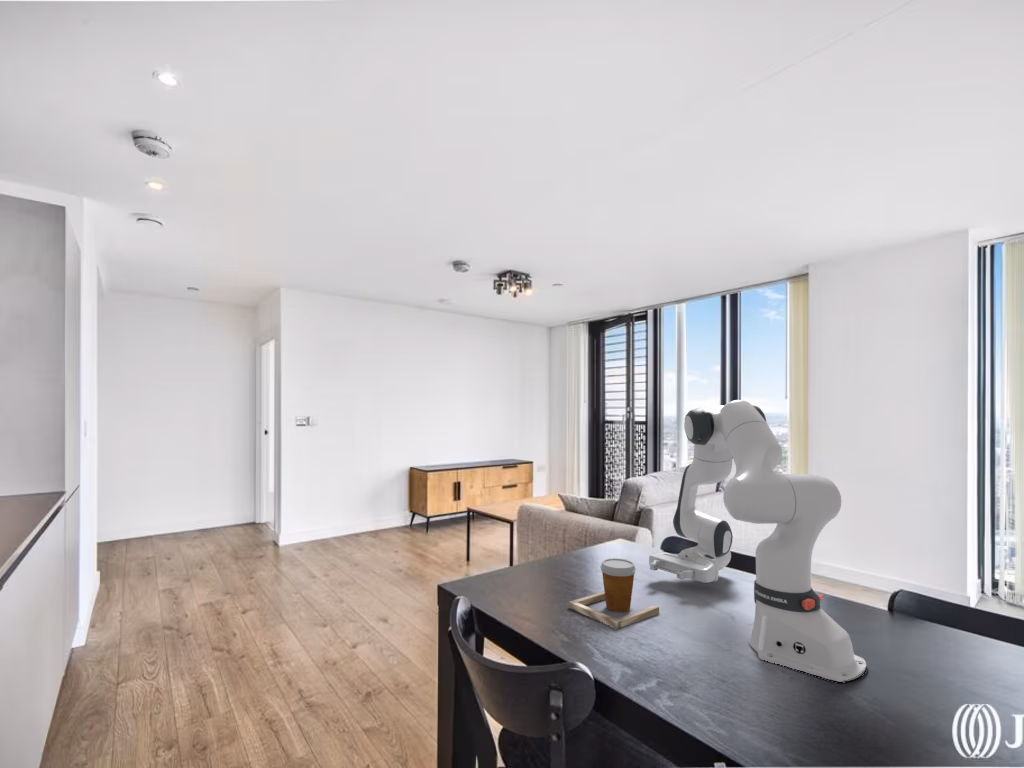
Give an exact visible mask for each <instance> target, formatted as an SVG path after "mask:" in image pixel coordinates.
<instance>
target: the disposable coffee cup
mask: <svg viewBox="0 0 1024 768" xmlns="http://www.w3.org/2000/svg"><path fill="white" fill-rule="evenodd" d="M600 570H601V573H602V574H601V575H602V581H603V583H602V584H603V589H604V592H605V599H604V600H605V607H607V608H606V609H607V610H608V609H609V610H608V611H610V610H611V611H610V612H613V613H626V612H629V611H630V610H631V603H632V595H633V594H632V593H633V589H634V588H633V587H634V579H635V574H636V571H637V568H636V566H635V563H634V562H633V561H631V560H628V559H624V558H615V557H614V558H607V559H603V560H602V562H601V565H600Z"/></svg>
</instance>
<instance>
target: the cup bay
mask: <svg viewBox="0 0 1024 768" xmlns="http://www.w3.org/2000/svg"><path fill="white" fill-rule="evenodd" d="M603 599H604V600H605V592H604V591H600V592H596V593H593V594H591V595H587V596H582V597H580V598H578V599H577V598H576V599H573V600H570V601H568V609H571V610H573V611H575V612H578V613H580V614H582V615H584V616H587V617H588V616H589V617H588V618H591V619H593V620H595V621H597V620H598V621H597V622H599V621H600V623H602V622H603V623H602V624H604V623H605V624H604V625H606V624H608V625H610V626H609V627H611V626H612V627H611V628H613V627H614V628H613V629H615V628H616V629H615V630H618V628H619V629H621V628H623V627H626V625H627V626H629V625H632V624H634V623H637V622H640V621H642V620H645V618H646V619H649V618H650V617H653V616H656V615H659V614H660V607H659V606H657V605H652V606H649V607H647V608H644V609H641V610H637V611H635V612H632V613H630V614H627V615H624V616H621V617H618V618H615V617H613V616H611V615H608V614H606V613H603V612H601V611H598V610H595V609H593V608H591V607H589V605H591V603H592V604H594V602H595V603H598V602H601V601H604V600H603ZM600 600H601V601H600ZM597 601H598V602H597ZM608 625H607V626H608Z"/></svg>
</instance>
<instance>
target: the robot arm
mask: <svg viewBox="0 0 1024 768" xmlns="http://www.w3.org/2000/svg"><path fill="white" fill-rule="evenodd" d="M683 427H684V428H683V429H684V432H685V436H686V437H687V439H688V441H690V443H692V444H694V445H693V459H692V462H691V463H689V464H688V465H686V467H685V469H684V471H683V473H682V474H683V475H682V478H681V483H680V489H679V494H678V499H677V506H676V510H675V512H674V516H673V519H672V524H673V525H672V526H673V529H674V531H675V533H676V534H677V535H678V536H679V537H682V538H685V539H688V540H691V541H693V542H696V543H697V545H696V546H693V547H688V548H685V549H682V550H681V551H680V552H679V553H678V555H677V554H674V553H670V552H665V551H663V552H662V551H661V552H656V553H651V554H649V555H648V565H649V569H650V570H651V571H658V570H661V571H664V572H668V573H670V574H673V575H676V578H677V579H681V580H684V579H690V580H693V581H695V582H696V581H697V582H700V583H702V584H703V583H706V584H708V583H712V582H717V581H719V573H720V572H719V571H720V570H723V569H724V568H725V567H726V566H728V565H729V563H730V562H731V558H732V551H731V548H732V544H733V533H732V529H731V526H730V524H729V523H728V521H726V520H724V519H721V518H719V517H716V516H714V515H711V514H709V513H706V512H703V511H701V510H699V509H698V508H697V507H696V500H697V494H698V489H699V486H702V485H703V486H704V485H706V486H707V485H714V484H718V483H720V482H722V481H725V480H726V479H727V478H728V477H729V476H730V474H731V472H732V470H733V462H734V464H735V474H734V475H733V477H732V478H730V479H729V481H728V482H726V485H725V486H724V490H723V496H722V497H723V499H722V500H723V504H724V507H725V510H727V513H728V514H729V515H730V517H732V519H734V520H736V521H740V522H746V523H750V524H751V523H752V524H757V525H759V524H761V525H764V524H767V525H768V524H771V525H772V524H776V527H775V528H774V530H773V532H772V533H771V534H770V535H769V536H768V537H766V538H764V539H763V540H762V541H760V542H759V544H758V545H757V546H756V550H755V580H754V582H753V584H754V585H753V599H754V604H755V610H754V619H753V626H752V631H751V634H750V637H749V641H748V642H749V645H750V647H751V648H752V649H753V650H754V651H755V652H756V653H757V656H758V658H759V659H760V660H762V661H764V660H765V662H767V661H768V663H771V664H774V663H775V665H777V664H780V665H779V666H781V665H783V666H782V667H784V666H787V667H790V668H794V669H798V670H801V671H805V672H808V673H812V674H815V675H819V676H822V677H825V678H829V679H832V680H836V681H843V680H848V679H851V678H854V677H856V676H858V675H859V674H861V673H862V672H863V671H864V670H865V668H866V666H867V662H866V660H865V659H864V658H863V657H861V656H858V655H856V654H855V652H854V647H853V643H852V639H851V637H850V635H849V633H848V632H847V631H846V630H845V629H844V628H843V627H842V626H841V625H840V624H839V623H838V622H836V621H835V620H834V619H833V618H832V617H831V616H829V614H827V612H825V611H824V609H822V608H821V601H822V600H824V598H823V596H824V594H823V593H821V594H819V595H818V594H817V593H816V591H814V589H813V587H812V585H811V583H812V576H811V575H812V557H813V551H814V547H815V543H816V541H817V540H818V537H819V535H820V534H821V532H822V531H823V529H824V528H825V527H826V525H827V524H829V522H830V521H833V519H834V518H836V517H837V516H838V515H839V512H840V510H841V507H842V495H841V492H840V490H839V488H838V487H837V485H836V484H835V483H834V481H832V480H831V479H829V478H826V477H823V476H819V475H814V474H810V473H809V474H808V473H797V474H796V473H795V474H794V473H791V474H790V473H785V474H784V473H776V471H774V469H776V468H777V467H778V465H779V464H780V463H781V461H782V458H783V449H782V447H781V445H780V443H779V442H778V440H777V438H776V436H775V434H774V433H773V431H772V430H771V428H770V426H769V424H768V423H767V419H766V415H765V413H764V411H763V410H762V409H761V408H760V407H758V406H757V405H752V404H751V403H750V402H748V401H746V400H744V399H743V400H742V399H735V400H730V401H729V402H727V403H726V404H724V405H714V406H709V407H703V408H702V407H698V408H694V409H691V410H689V411H688V412H687V413H686V415H685V417H684V423H683ZM859 663H862V664H859ZM787 667H786V668H787ZM790 668H789V669H790ZM794 669H793V670H794Z"/></svg>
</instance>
